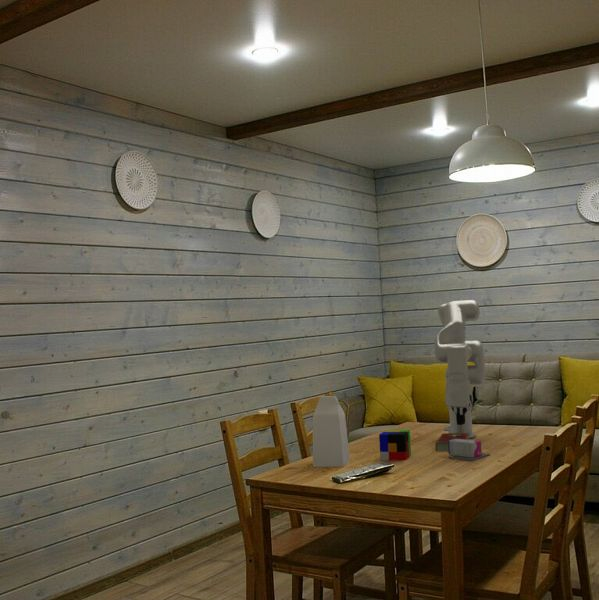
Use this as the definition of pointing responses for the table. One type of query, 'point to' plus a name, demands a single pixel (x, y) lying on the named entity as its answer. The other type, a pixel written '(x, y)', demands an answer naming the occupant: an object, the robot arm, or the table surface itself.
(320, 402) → the milk
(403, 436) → the puzzle toy
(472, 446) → the supplement box
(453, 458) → the mat
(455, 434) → the hardcover book
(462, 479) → the table surface
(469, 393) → the robot arm
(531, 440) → the table surface
